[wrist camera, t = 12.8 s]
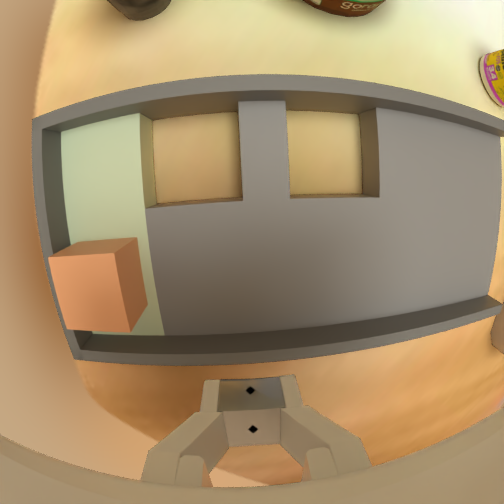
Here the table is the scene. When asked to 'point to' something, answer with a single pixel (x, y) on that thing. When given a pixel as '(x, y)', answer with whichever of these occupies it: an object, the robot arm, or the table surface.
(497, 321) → the toilet tissue
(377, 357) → the table surface
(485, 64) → the supplement bottle
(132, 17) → the beverage cup
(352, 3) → the food container
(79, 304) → the terracotta block
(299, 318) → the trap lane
